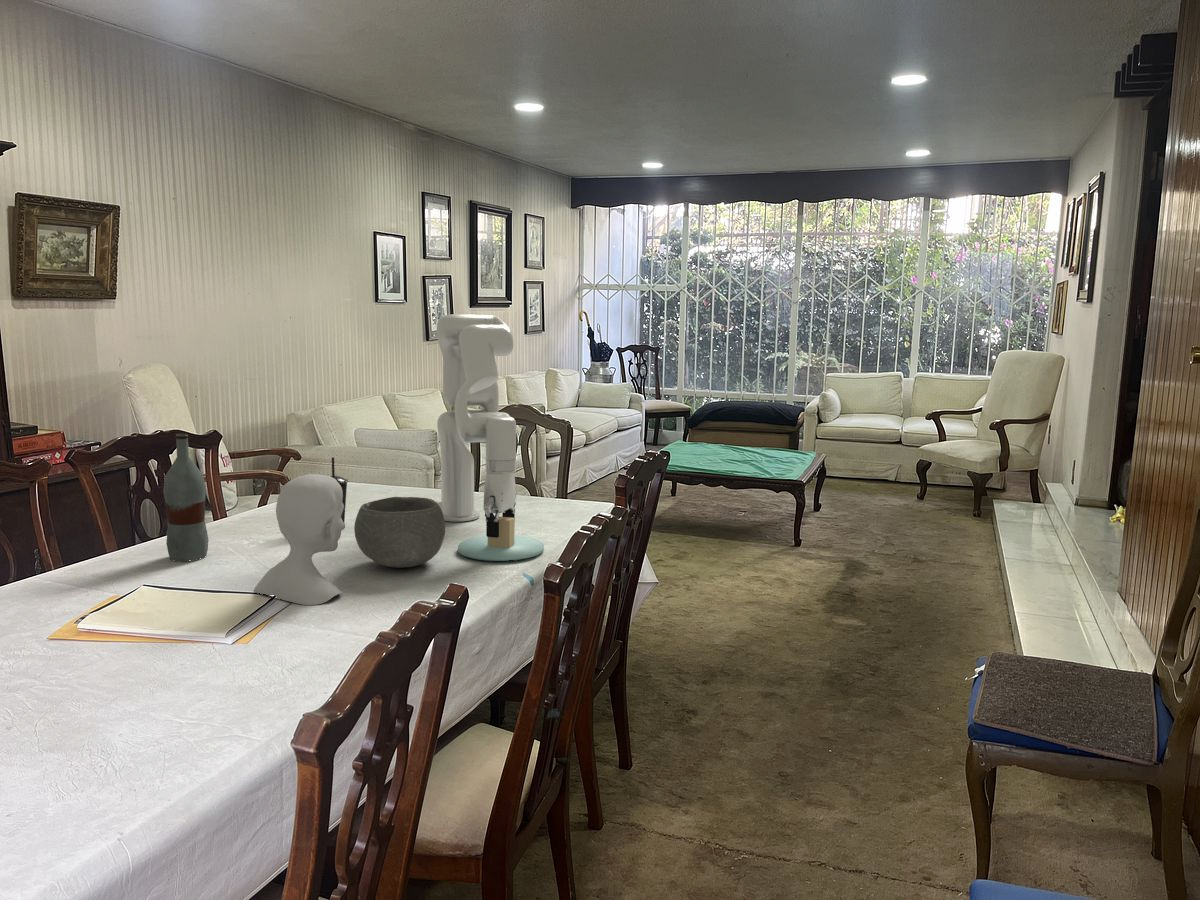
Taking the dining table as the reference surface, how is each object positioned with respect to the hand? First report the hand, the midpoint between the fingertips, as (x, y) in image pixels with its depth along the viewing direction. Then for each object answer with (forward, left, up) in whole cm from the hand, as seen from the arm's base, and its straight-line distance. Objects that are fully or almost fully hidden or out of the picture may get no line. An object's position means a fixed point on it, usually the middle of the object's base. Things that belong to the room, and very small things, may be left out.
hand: (500, 532), depth 224 cm
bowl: (-17, -20, -5) cm, 27 cm away
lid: (0, 0, -4) cm, 4 cm away
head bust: (-26, -42, -5) cm, 50 cm away
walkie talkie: (-52, +5, -5) cm, 52 cm away
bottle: (-68, -32, -5) cm, 75 cm away
